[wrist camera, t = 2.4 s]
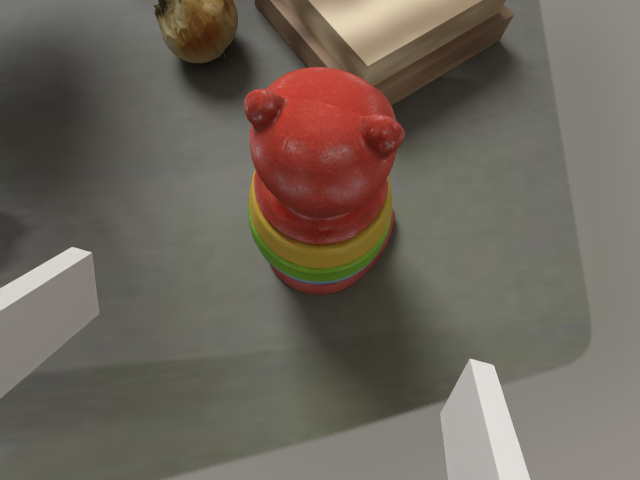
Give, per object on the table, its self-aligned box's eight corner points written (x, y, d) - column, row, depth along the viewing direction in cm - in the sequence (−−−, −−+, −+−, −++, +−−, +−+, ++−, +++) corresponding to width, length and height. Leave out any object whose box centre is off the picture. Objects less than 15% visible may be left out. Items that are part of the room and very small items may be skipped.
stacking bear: (399, 206, 32) (493, 34, 15) (363, 317, 29) (428, 263, 12) (283, 167, 33) (247, -33, 16) (238, 271, 30) (133, 161, 13)
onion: (173, 87, 35) (134, 14, 28) (164, 25, 38) (126, -59, 30) (251, 73, 36) (233, -3, 28) (237, 12, 38) (217, -73, 31)
